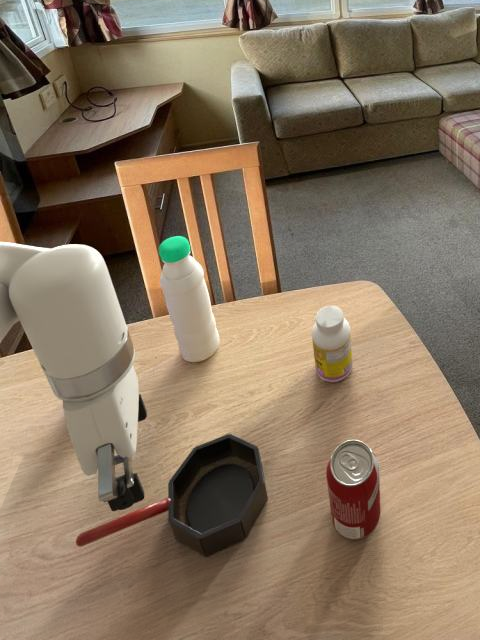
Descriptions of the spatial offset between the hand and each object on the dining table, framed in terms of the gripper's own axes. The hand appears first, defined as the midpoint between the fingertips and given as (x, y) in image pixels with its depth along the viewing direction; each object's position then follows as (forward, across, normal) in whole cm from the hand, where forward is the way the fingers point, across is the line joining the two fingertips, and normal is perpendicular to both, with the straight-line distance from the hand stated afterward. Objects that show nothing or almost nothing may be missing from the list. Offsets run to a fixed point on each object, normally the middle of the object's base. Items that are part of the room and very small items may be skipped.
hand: (131, 459), depth 56 cm
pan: (+18, -2, +2) cm, 18 cm away
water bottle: (+18, -30, +7) cm, 35 cm away
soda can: (+18, +7, +25) cm, 31 cm away
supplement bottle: (+18, -16, +29) cm, 37 cm away
